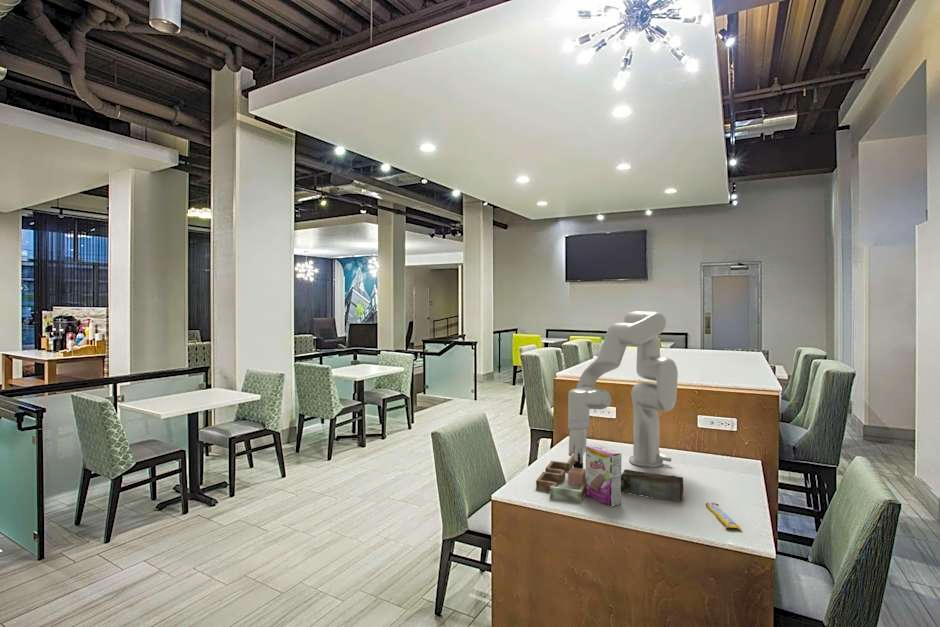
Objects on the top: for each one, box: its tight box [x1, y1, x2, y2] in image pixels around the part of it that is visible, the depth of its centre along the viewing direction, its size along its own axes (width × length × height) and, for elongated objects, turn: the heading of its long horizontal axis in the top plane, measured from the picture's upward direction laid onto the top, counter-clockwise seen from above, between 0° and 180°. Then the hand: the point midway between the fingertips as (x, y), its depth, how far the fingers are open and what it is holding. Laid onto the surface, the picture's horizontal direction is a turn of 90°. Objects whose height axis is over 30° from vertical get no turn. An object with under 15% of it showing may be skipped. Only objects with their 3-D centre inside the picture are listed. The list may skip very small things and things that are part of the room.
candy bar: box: [705, 502, 742, 530], centre depth 146 cm, size 17×4×2 cm, turn 174°
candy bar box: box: [585, 444, 622, 507], centre depth 159 cm, size 11×5×16 cm, turn 32°
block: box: [567, 466, 586, 486], centre depth 175 cm, size 5×6×4 cm
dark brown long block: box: [621, 468, 685, 503], centre depth 164 cm, size 8×19×7 cm, turn 63°
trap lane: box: [535, 454, 586, 503], centre depth 177 cm, size 16×38×4 cm, turn 158°
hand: (578, 473), depth 180 cm, fingers closed
